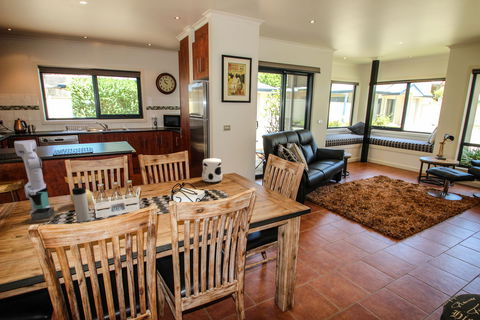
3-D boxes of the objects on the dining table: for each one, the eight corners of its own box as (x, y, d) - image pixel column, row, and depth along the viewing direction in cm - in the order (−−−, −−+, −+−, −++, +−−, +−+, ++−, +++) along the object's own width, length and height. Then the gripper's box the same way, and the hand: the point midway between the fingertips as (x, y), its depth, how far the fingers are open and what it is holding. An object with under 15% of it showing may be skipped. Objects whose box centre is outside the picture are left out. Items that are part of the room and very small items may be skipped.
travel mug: (76, 224, 139) (70, 190, 134) (78, 219, 145) (73, 186, 140) (89, 222, 141) (84, 188, 137) (90, 217, 147) (86, 184, 143)
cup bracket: (37, 213, 150) (36, 208, 149) (56, 211, 152) (55, 206, 151) (29, 220, 141) (28, 215, 140) (49, 218, 143) (48, 213, 143)
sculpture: (76, 201, 170) (74, 186, 168) (96, 200, 173) (94, 185, 170) (69, 208, 160) (66, 192, 157) (90, 207, 162) (87, 191, 159)
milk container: (198, 180, 216) (197, 160, 212) (214, 176, 228) (214, 157, 224) (210, 185, 204) (209, 163, 200) (226, 181, 216) (226, 160, 212)
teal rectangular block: (40, 204, 148) (38, 191, 146) (49, 205, 148) (47, 191, 146) (34, 208, 143) (31, 195, 141) (42, 208, 143) (40, 195, 141)
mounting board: (37, 214, 151) (37, 212, 151) (59, 212, 154) (58, 210, 154) (26, 224, 139) (26, 222, 139) (50, 221, 142) (50, 219, 142)
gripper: (34, 176, 147) (38, 198, 150) (21, 184, 134) (26, 208, 137) (48, 175, 149) (52, 197, 152) (37, 183, 136) (41, 207, 139)
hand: (41, 202), depth 145 cm, fingers closed on teal rectangular block, 6 cm apart
